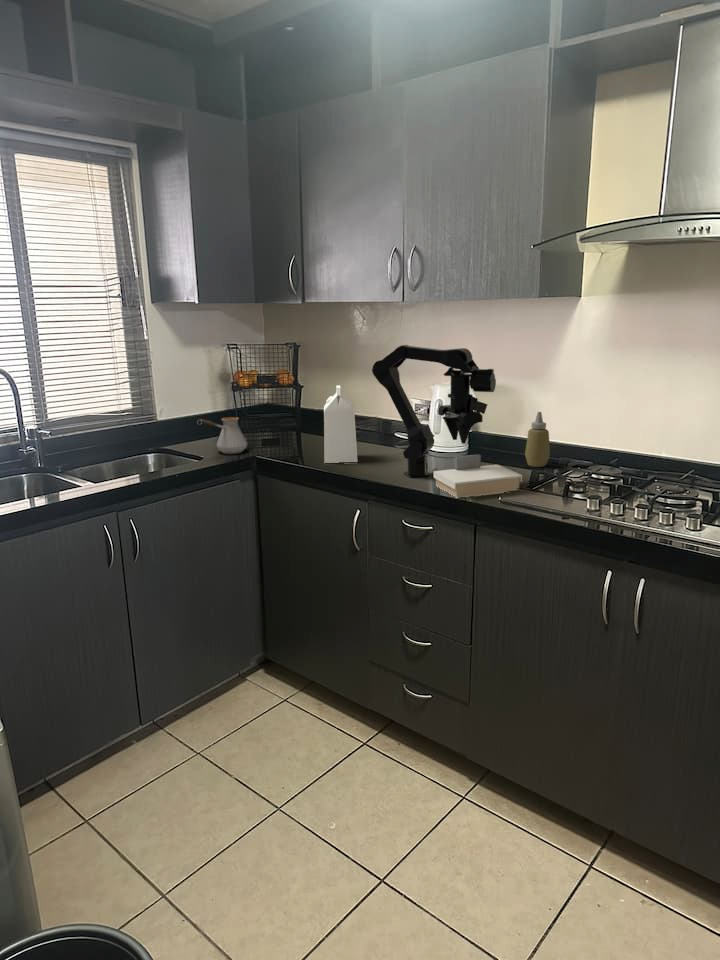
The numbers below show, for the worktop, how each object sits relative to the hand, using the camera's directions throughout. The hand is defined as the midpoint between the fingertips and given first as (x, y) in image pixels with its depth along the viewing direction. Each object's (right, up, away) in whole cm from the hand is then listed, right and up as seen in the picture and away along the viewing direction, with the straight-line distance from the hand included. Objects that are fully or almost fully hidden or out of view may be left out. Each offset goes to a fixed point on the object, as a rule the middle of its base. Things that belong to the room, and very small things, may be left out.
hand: (459, 441), depth 212 cm
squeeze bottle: (+29, -7, +18) cm, 35 cm away
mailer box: (+4, -14, -8) cm, 17 cm away
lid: (+4, -12, -9) cm, 15 cm away
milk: (-37, -5, +33) cm, 50 cm away
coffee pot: (-82, -2, +45) cm, 93 cm away
